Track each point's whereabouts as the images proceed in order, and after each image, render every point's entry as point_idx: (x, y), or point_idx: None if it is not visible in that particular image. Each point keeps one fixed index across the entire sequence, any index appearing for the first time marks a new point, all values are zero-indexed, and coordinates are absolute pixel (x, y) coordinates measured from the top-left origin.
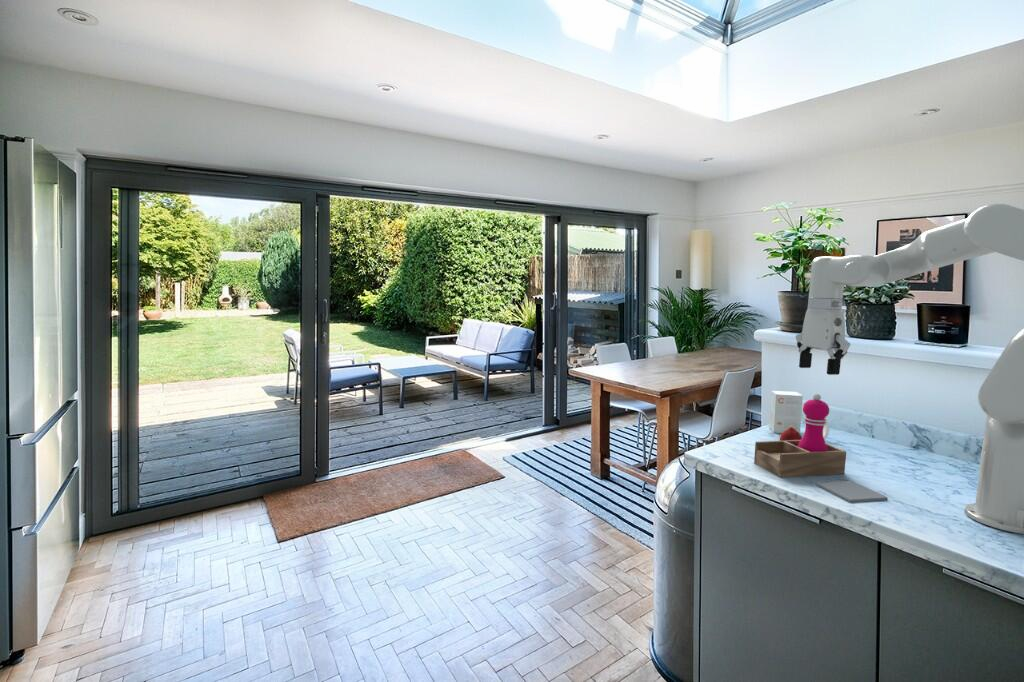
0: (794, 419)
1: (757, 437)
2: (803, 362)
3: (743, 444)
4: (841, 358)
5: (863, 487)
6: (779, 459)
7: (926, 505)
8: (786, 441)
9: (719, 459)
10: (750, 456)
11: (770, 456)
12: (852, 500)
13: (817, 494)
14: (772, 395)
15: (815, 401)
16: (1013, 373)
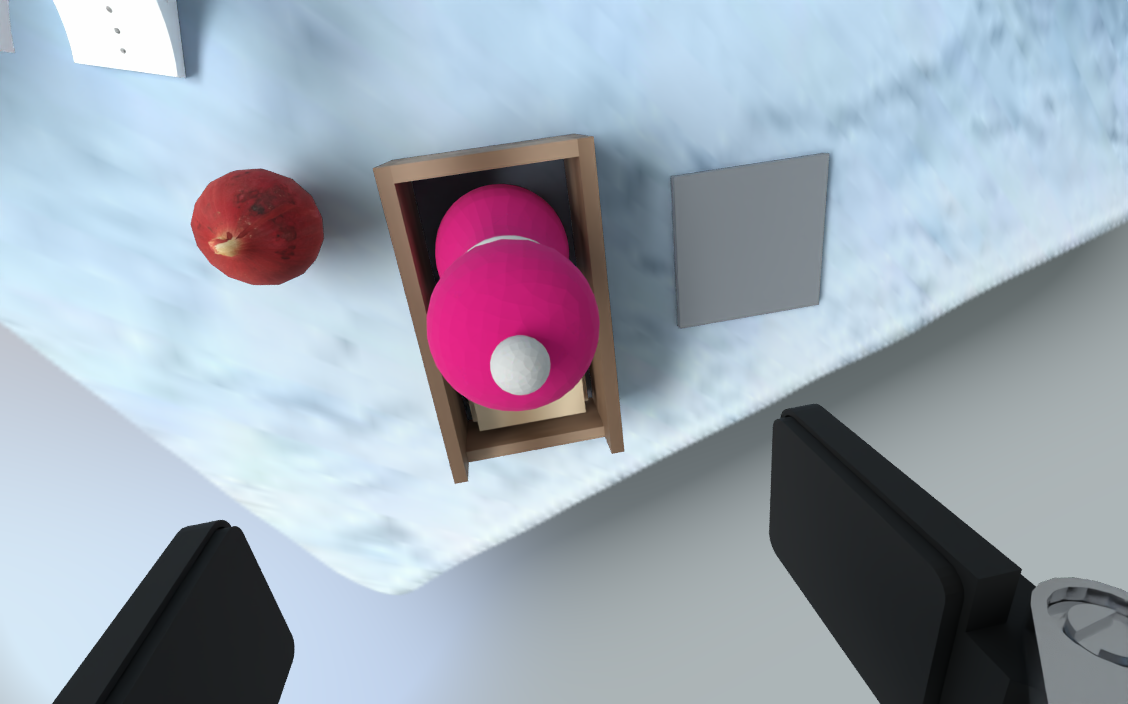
0: None
1: (5, 252)
2: (254, 701)
3: (186, 377)
4: (1105, 615)
5: (739, 179)
6: (548, 406)
7: (891, 33)
8: None
9: (425, 526)
10: (373, 413)
11: (551, 445)
12: (818, 292)
13: (745, 361)
14: None
15: (550, 378)
16: None
